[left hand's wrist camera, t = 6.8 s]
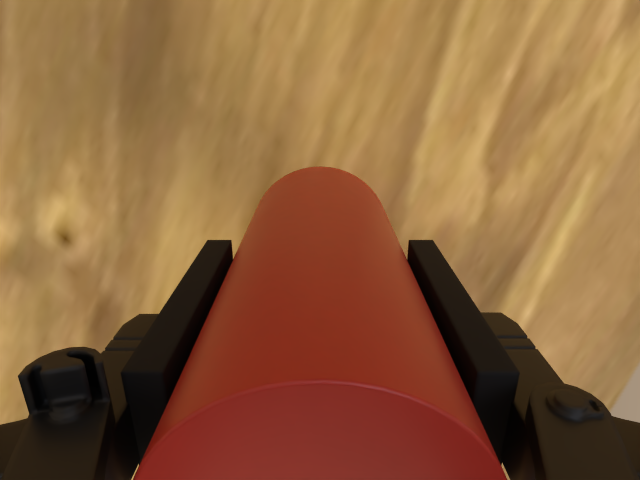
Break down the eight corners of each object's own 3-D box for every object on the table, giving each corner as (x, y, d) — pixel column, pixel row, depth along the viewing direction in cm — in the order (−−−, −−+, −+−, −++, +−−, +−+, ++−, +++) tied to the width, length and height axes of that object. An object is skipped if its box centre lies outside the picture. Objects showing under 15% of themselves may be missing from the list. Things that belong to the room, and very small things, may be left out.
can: (235, 185, 18) (56, 429, 6) (372, 150, 17) (493, 339, 5) (274, 304, 20) (202, 672, 8) (398, 276, 19) (529, 623, 7)
